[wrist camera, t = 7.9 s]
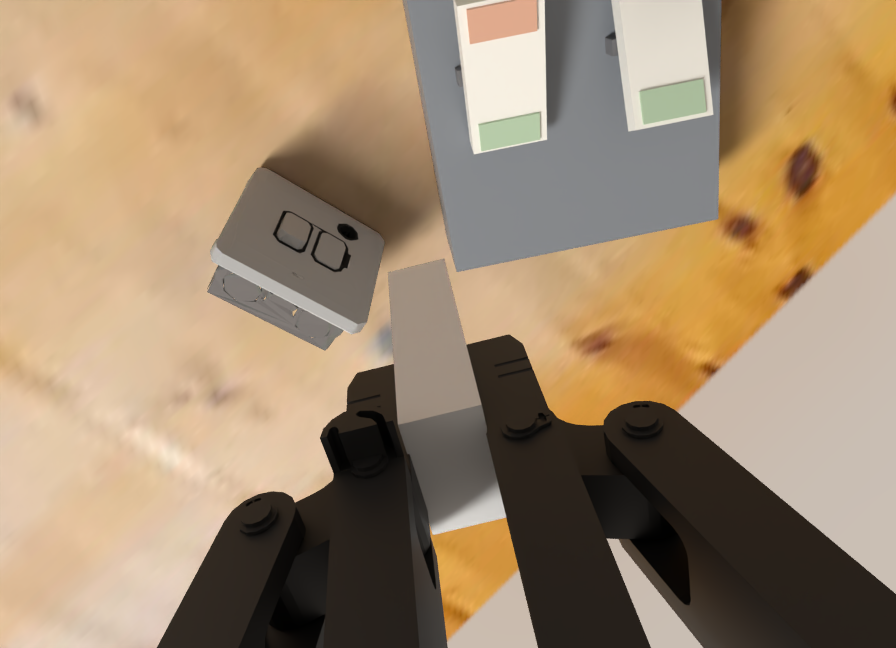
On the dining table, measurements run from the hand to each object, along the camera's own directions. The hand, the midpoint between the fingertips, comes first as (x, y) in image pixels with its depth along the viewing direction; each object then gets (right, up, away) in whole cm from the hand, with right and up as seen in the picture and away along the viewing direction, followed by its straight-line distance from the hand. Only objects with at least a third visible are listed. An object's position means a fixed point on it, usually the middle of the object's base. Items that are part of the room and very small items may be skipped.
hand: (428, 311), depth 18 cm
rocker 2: (+11, +14, +16) cm, 24 cm away
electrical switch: (-9, +6, +27) cm, 29 cm away
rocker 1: (+3, +12, +16) cm, 20 cm away
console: (+6, +17, +23) cm, 29 cm away
